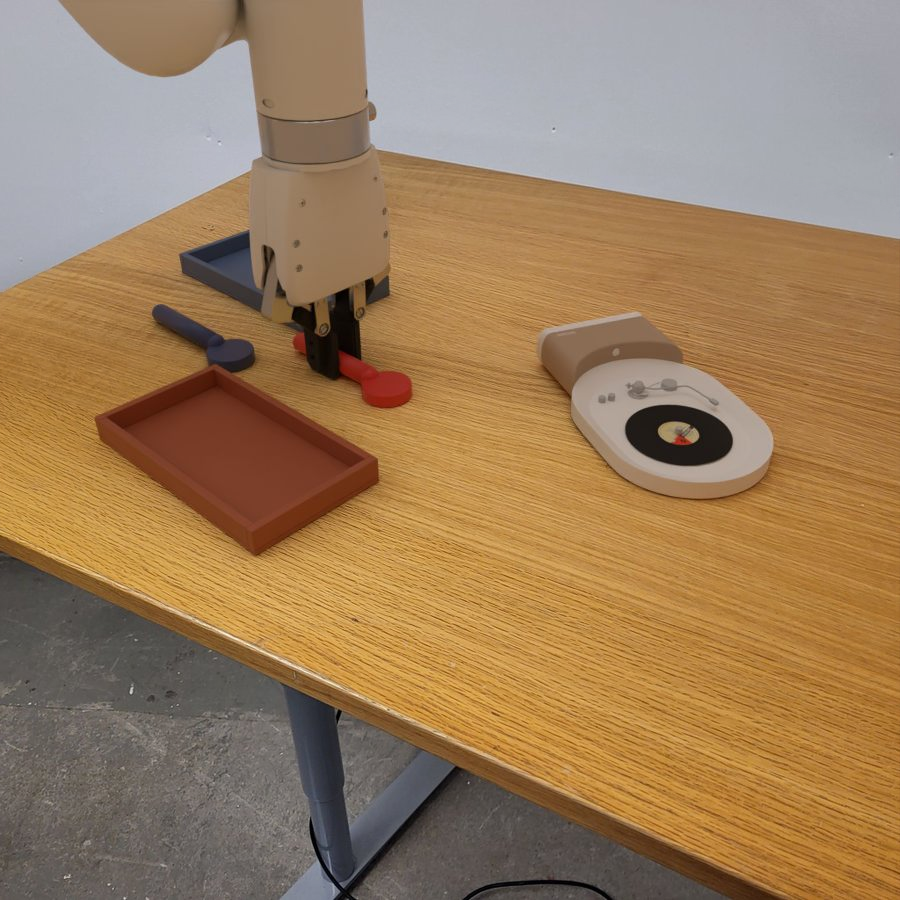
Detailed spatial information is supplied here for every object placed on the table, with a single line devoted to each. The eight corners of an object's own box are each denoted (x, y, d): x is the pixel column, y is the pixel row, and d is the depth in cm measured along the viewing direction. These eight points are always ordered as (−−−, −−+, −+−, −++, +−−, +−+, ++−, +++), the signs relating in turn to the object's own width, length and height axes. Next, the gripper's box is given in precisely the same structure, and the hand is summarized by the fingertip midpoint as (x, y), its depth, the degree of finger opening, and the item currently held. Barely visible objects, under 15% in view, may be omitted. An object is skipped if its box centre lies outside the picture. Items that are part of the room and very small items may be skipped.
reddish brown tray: (99, 439, 66) (93, 416, 65) (219, 384, 72) (215, 363, 71) (255, 556, 56) (251, 531, 55) (379, 481, 62) (378, 458, 61)
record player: (656, 307, 76) (815, 441, 61) (651, 341, 78) (804, 478, 62) (524, 332, 72) (657, 479, 57) (522, 366, 74) (651, 518, 59)
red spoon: (279, 355, 76) (276, 338, 75) (315, 339, 78) (313, 322, 77) (386, 413, 69) (385, 395, 68) (422, 393, 71) (421, 375, 70)
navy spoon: (139, 326, 80) (135, 309, 79) (176, 311, 83) (173, 295, 82) (226, 377, 73) (223, 359, 72) (265, 359, 75) (262, 342, 75)
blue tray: (181, 272, 89) (178, 253, 88) (267, 241, 95) (265, 223, 94) (302, 333, 79) (300, 313, 78) (389, 294, 85) (389, 275, 84)
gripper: (363, 101, 71) (375, 319, 81) (186, 148, 61) (226, 388, 72) (434, 120, 66) (437, 348, 77) (255, 174, 57) (287, 425, 68)
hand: (335, 365), depth 74 cm, fingers closed on red spoon, 1 cm apart
